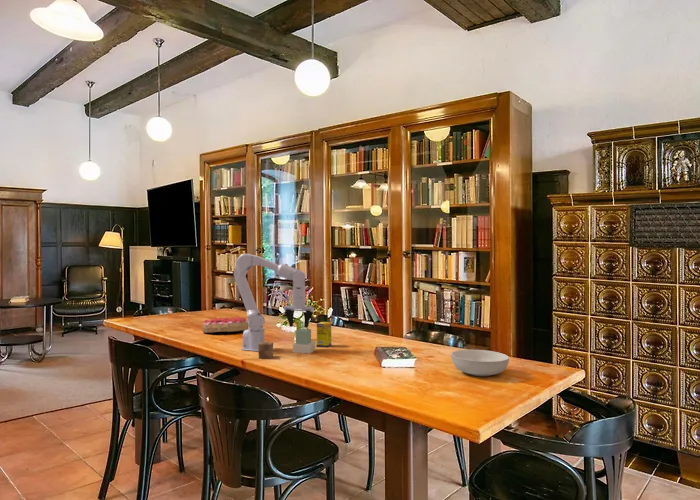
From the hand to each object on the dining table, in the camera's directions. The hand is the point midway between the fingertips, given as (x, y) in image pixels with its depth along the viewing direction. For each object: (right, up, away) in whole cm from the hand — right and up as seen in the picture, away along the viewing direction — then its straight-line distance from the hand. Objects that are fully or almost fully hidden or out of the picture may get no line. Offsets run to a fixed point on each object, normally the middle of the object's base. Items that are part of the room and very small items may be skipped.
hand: (298, 326), depth 229 cm
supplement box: (+11, -11, +8) cm, 17 cm away
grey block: (+3, -11, -4) cm, 12 cm away
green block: (+3, -7, -4) cm, 8 cm away
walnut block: (-12, -11, -17) cm, 23 cm away
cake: (-46, -11, +49) cm, 68 cm away
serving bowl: (+72, -11, -44) cm, 84 cm away
